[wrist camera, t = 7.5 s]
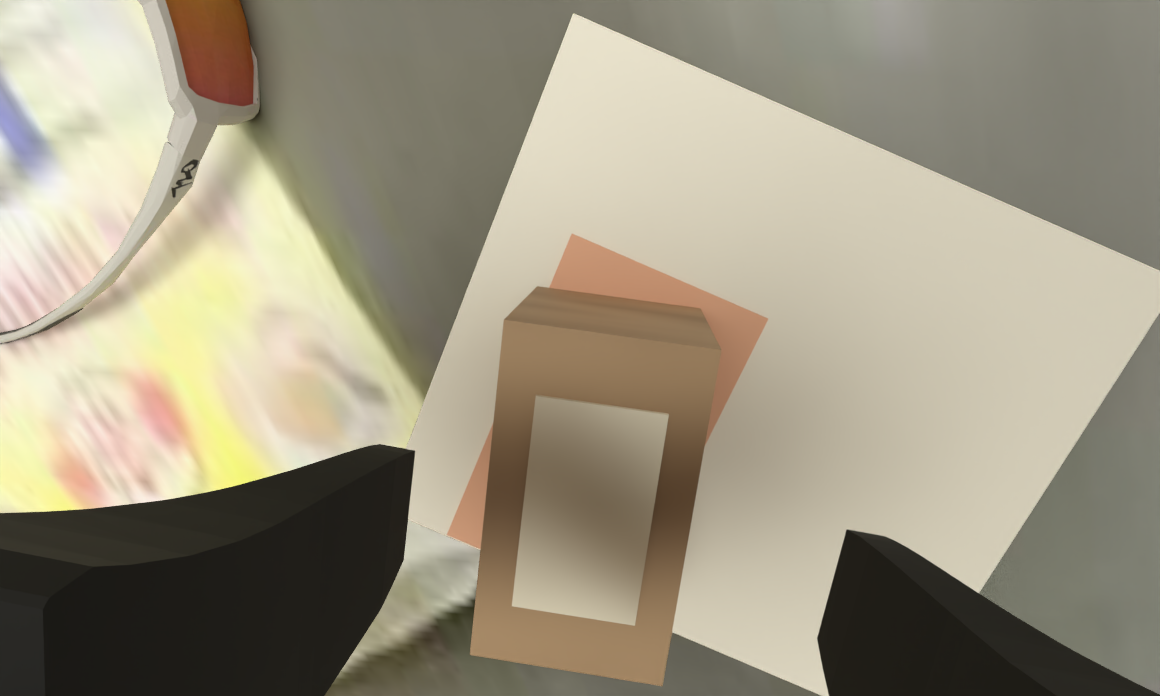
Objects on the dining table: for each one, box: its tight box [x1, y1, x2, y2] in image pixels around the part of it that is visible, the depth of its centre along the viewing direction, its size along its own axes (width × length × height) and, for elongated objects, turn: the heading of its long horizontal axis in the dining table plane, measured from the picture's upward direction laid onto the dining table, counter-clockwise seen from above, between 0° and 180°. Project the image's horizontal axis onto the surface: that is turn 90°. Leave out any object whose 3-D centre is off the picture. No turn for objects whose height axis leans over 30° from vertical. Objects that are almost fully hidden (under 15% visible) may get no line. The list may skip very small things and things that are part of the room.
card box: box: [470, 286, 721, 686], centre depth 18 cm, size 8×4×5 cm, turn 173°
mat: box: [406, 13, 1160, 696], centre depth 20 cm, size 17×15×1 cm
